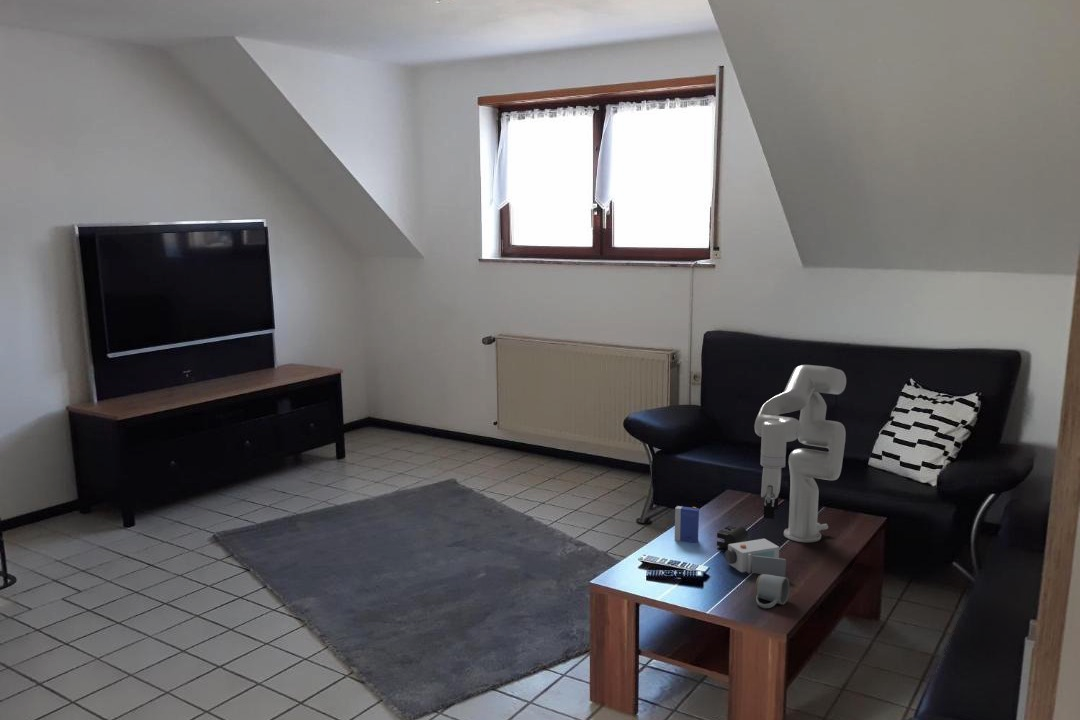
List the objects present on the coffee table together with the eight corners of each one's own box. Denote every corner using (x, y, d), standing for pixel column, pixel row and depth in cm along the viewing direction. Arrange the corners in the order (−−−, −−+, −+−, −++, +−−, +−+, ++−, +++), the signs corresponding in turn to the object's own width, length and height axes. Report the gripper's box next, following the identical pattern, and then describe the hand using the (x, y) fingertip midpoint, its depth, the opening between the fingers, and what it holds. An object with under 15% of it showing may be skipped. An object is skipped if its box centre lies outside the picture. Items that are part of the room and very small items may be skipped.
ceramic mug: (762, 592, 257) (763, 568, 255) (789, 598, 252) (790, 574, 251) (749, 605, 248) (749, 580, 247) (776, 612, 244) (777, 587, 242)
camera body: (763, 557, 284) (764, 536, 282) (778, 566, 276) (779, 545, 275) (723, 564, 278) (723, 543, 277) (737, 573, 271) (738, 552, 269)
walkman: (698, 540, 299) (699, 507, 297) (696, 543, 296) (697, 509, 294) (676, 537, 302) (676, 504, 300) (674, 540, 299) (674, 507, 297)
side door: (785, 576, 268) (785, 558, 267) (784, 577, 267) (785, 559, 266) (747, 571, 272) (748, 553, 271) (747, 573, 270) (747, 555, 269)
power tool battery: (735, 555, 286) (736, 535, 285) (715, 550, 290) (716, 531, 289) (747, 546, 294) (748, 527, 293) (728, 541, 298) (729, 522, 297)
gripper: (764, 452, 276) (762, 503, 279) (756, 466, 260) (754, 520, 263) (788, 455, 273) (786, 506, 276) (782, 468, 257) (779, 523, 260)
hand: (770, 513), depth 269 cm, fingers open, 9 cm apart
